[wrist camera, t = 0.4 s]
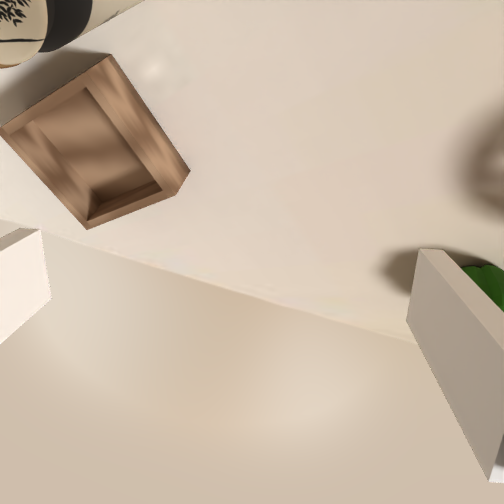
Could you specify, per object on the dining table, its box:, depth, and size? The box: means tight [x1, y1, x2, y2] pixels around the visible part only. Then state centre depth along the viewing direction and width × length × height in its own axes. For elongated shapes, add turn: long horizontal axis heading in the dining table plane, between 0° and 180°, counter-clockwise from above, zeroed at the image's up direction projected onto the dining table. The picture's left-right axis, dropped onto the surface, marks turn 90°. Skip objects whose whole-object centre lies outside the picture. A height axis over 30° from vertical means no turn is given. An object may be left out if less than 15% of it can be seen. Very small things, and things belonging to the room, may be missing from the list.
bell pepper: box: [461, 265, 504, 312], centre depth 46 cm, size 8×8×10 cm
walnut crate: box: [0, 54, 190, 230], centre depth 46 cm, size 14×14×5 cm
